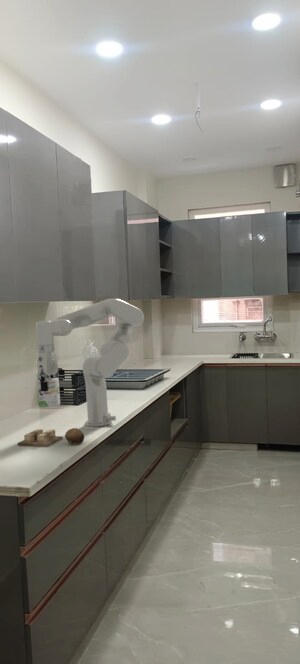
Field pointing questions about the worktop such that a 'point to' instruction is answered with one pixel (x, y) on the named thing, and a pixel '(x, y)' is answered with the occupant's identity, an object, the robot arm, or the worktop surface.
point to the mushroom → (74, 436)
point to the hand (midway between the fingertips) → (48, 389)
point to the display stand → (40, 438)
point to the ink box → (49, 393)
